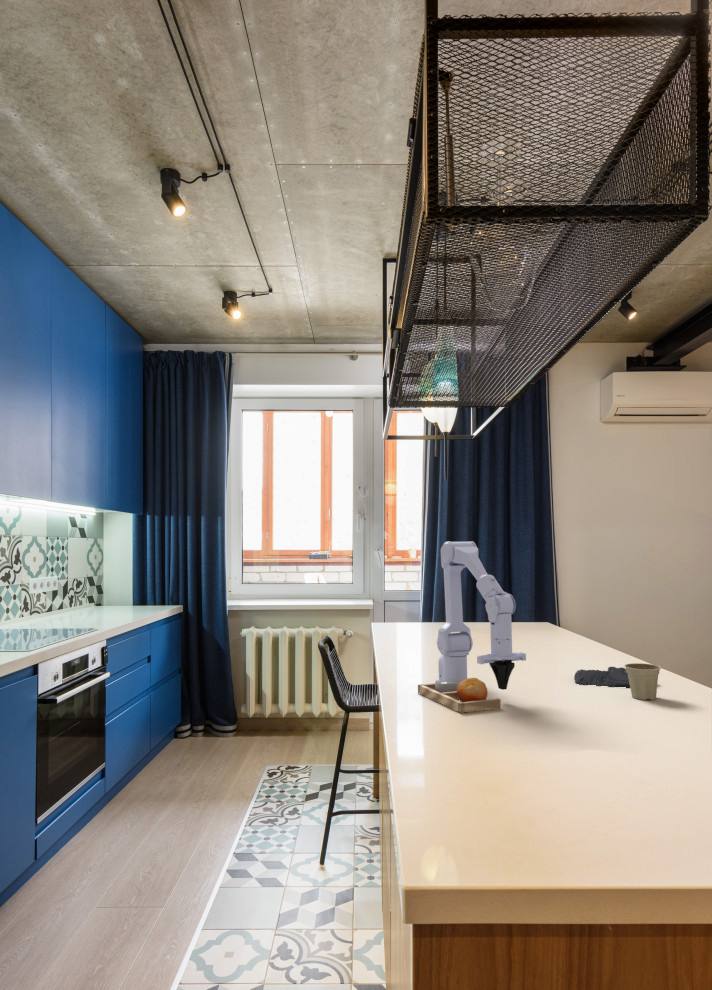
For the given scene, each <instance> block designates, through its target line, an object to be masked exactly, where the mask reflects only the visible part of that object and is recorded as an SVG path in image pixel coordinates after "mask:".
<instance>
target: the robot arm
mask: <svg viewBox="0 0 712 990" xmlns="http://www.w3.org/2000/svg"><path fill="white" fill-rule="evenodd" d="M440 564H441V565H440V566H441V569H443V583H444V585H443V586H444V587H443V588H444V601H445V603H444V605H445V606H444V608H445V623H444V624H442V626H441V627H440V628H439V629H437V630H438V635H437V639H436V644H437V645H436V647H437V649H438V651H439V653H440V654H441V655H440V656H439V658H438V662H437V663H438V679H436V680H435V681H438V680H454V681H457V682H458V683H460V682H461V681H462V680H464V679H468V655H470V652H471V651H472V650H473V643H474V642H473V638H472V634H471V629H470V627H469V626H467V625H466V624H465V623H464V619H463V618H464V615H463V598H462V597H463V594H462V591H463V590H462V577H461V576H462V571H463V570H464V569H465V568H467V569H468V570H469V572H470V573H471V574H472V576H473V577H474V578H475V580H476V581H477V582H476V585H475V586H476V588H477V590H478V592H479V593H480V595H481V597H482V598H483V599H484V601H485V605H484V606H485V607H484V608H485V611H486V613H487V620H488V622H489V623H490V624H489V625H490V653H487V654H483V655H477V656H476V663H477V664H478V665H485V664H489V667H490V668H491V669H492V672H493V674H494V677H495V679H496V680H495V681H496V683H497V687H498V689H500V690H503V691H504V690H507V689H508V684H509V680H510V677H511V675H512V672H513V669H514V668H515V665H516V664H515V661H522V662H523V661H524V662H525V661H527V653H525V652H521V651H520V652H513V636H512V635H513V634H512V632H513V630H512V627H513V626H512V625H513V624H512V623H513V622H512V615H513V614H514V613H515V611H516V606H517V605H516V599H515V598H514V596H513V595H512V594H510V593H508V592H507V591H504V590H503V589H502V586H501V585H500V583H498V581H497V579H496V578H495V576H494V575H493V574H488V572H487V571H486V569H485V567H484V565H483V563H482V561H481V560H480V558H479V548H478V547H477V544H476V543H475V542H474V540H473V541H471V540H469V541H445V542H444V543H443V544H442V546H441V548H440Z"/></svg>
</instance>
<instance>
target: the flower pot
mask: <svg viewBox="0 0 712 990" xmlns="http://www.w3.org/2000/svg"><path fill="white" fill-rule="evenodd" d="M623 666H624V667H623V668H625V669H626V671H627V673H628V677H629V683H630V688H629V689H630V694H631V697H632V698H634V699H636V700H642V701H647V700H651V701H654V700H656V699H657V691H658V681H659V674H660V671H661V670H662V667H661V666H660V665H656V664H652V663H643V662H642V663H641V662H640V663H638V662H636V663H626V664H624V665H623Z"/></svg>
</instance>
